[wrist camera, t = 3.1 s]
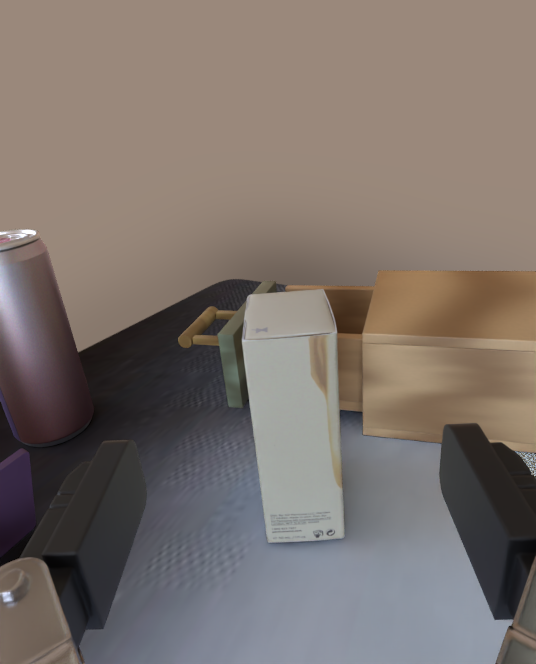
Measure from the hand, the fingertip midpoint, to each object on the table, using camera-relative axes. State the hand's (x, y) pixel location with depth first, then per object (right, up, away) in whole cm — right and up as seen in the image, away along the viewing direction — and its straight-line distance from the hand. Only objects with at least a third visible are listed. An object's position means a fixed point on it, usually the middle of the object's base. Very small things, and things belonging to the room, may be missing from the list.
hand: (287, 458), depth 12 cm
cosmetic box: (+2, -7, +16) cm, 17 cm away
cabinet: (+14, -2, +24) cm, 28 cm away
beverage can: (-17, -4, +25) cm, 31 cm away
